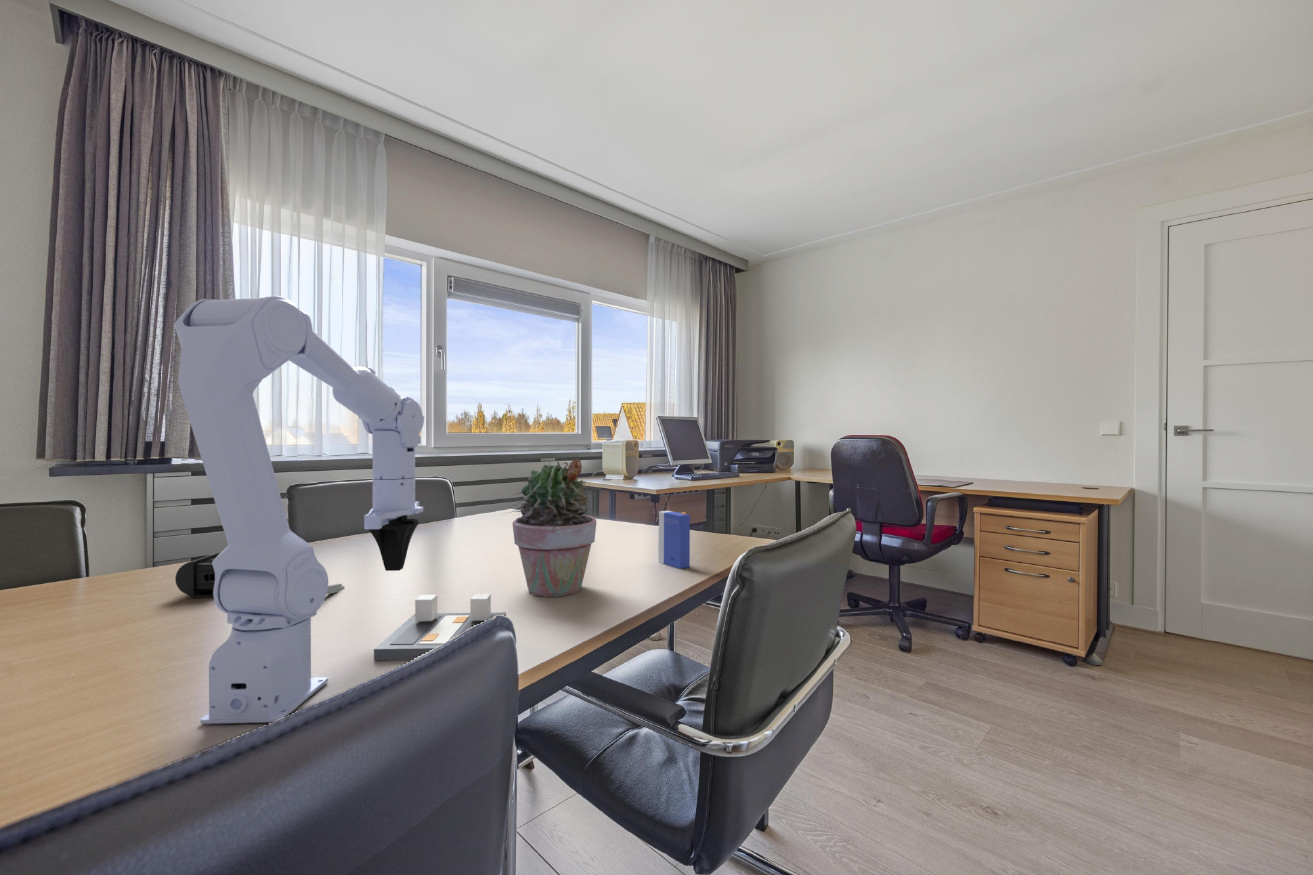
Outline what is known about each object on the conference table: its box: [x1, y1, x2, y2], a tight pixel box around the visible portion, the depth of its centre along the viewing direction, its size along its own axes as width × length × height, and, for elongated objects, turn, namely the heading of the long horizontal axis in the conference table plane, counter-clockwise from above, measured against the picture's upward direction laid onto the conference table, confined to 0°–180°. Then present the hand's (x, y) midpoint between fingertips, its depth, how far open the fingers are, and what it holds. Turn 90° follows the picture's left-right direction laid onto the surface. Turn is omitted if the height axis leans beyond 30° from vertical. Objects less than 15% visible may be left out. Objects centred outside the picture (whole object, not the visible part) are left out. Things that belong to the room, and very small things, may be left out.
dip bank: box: [373, 611, 507, 662], centre depth 79 cm, size 14×14×2 cm
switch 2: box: [469, 593, 492, 621], centre depth 83 cm, size 2×2×3 cm
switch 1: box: [414, 594, 438, 621], centre depth 83 cm, size 2×2×3 cm
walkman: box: [658, 510, 691, 570], centre depth 124 cm, size 8×3×12 cm, turn 37°
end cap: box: [174, 550, 223, 599], centre depth 103 cm, size 10×7×7 cm
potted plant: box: [502, 458, 604, 598], centre depth 105 cm, size 18×20×25 cm
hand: (394, 569), depth 82 cm, fingers closed
